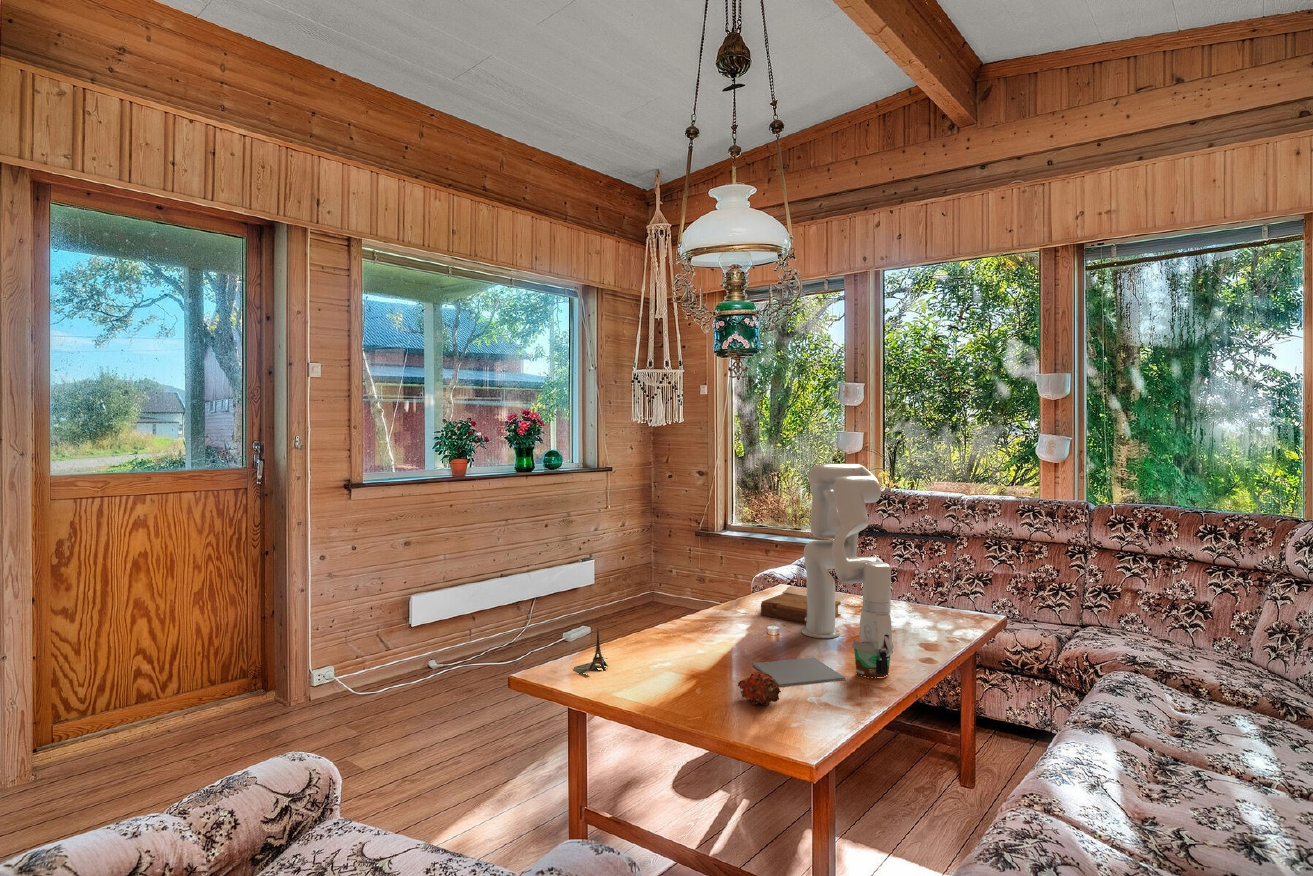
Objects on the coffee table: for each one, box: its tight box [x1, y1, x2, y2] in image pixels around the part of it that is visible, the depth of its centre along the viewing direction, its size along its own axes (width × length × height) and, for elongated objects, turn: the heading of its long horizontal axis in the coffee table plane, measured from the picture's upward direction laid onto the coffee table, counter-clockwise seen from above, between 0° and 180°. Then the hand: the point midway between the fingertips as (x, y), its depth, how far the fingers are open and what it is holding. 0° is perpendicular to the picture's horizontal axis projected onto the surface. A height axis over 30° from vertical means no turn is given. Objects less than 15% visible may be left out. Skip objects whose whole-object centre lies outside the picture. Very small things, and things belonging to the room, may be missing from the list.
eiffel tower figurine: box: [572, 627, 609, 678], centre depth 215 cm, size 15×10×13 cm
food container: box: [851, 639, 895, 678], centre depth 207 cm, size 12×6×10 cm, turn 106°
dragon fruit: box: [737, 671, 782, 706], centre depth 188 cm, size 8×8×12 cm
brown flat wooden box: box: [760, 592, 842, 625], centre depth 273 cm, size 23×19×6 cm
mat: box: [752, 657, 846, 688], centre depth 211 cm, size 18×20×1 cm
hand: (875, 669), depth 208 cm, fingers closed on food container, 5 cm apart
